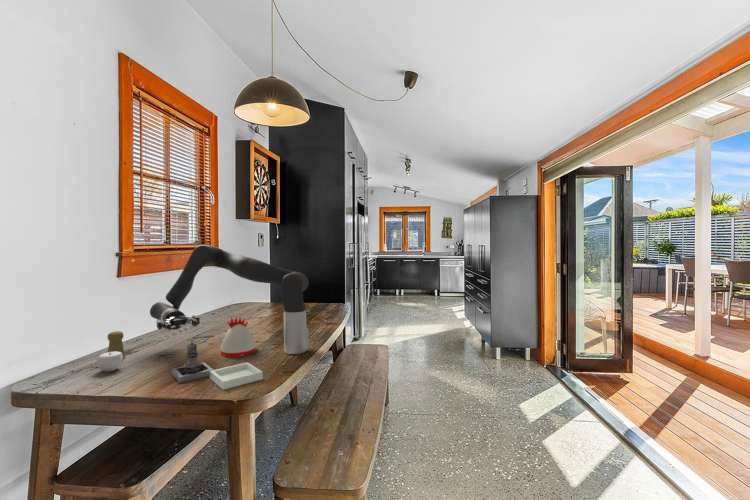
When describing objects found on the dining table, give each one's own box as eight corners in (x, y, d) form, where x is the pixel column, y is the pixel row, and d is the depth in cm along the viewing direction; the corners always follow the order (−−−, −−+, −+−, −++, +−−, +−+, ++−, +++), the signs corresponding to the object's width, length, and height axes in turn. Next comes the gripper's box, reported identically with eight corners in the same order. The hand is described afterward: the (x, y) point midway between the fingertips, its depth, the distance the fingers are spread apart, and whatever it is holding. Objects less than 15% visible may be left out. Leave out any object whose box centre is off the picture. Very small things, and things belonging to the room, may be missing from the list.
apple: (121, 364, 136) (121, 347, 136) (125, 370, 131) (125, 352, 131) (95, 370, 131) (94, 352, 131) (98, 375, 125) (97, 357, 125)
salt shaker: (194, 378, 122) (193, 343, 121) (179, 377, 123) (178, 342, 122) (205, 372, 127) (205, 338, 127) (191, 371, 128) (190, 338, 128)
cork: (128, 357, 145) (128, 330, 144) (112, 362, 139) (111, 334, 139) (119, 356, 147) (119, 329, 147) (103, 360, 142) (102, 332, 142)
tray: (247, 369, 130) (247, 362, 130) (262, 379, 120) (262, 371, 120) (209, 378, 122) (209, 370, 122) (222, 389, 112) (222, 381, 112)
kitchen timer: (220, 349, 155) (219, 315, 155) (253, 345, 161) (253, 312, 160) (221, 359, 142) (220, 321, 142) (257, 354, 148) (257, 318, 148)
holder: (204, 367, 132) (204, 362, 132) (213, 375, 125) (213, 369, 124) (172, 374, 125) (172, 368, 125) (179, 383, 118) (179, 377, 118)
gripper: (152, 311, 141) (161, 318, 128) (191, 307, 150) (203, 313, 138) (152, 330, 141) (161, 338, 128) (191, 324, 150) (203, 332, 138)
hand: (183, 325), depth 133 cm, fingers open, 8 cm apart
